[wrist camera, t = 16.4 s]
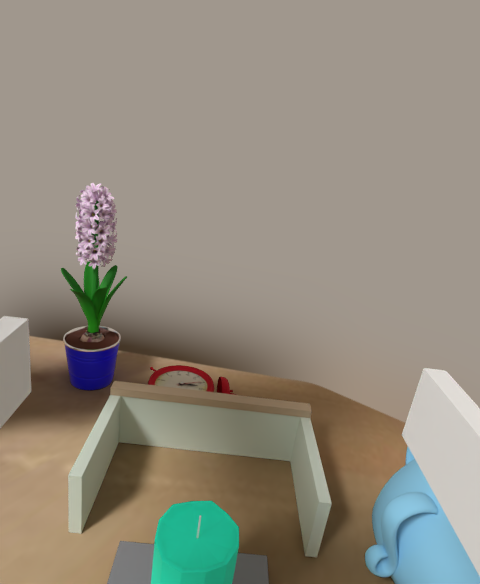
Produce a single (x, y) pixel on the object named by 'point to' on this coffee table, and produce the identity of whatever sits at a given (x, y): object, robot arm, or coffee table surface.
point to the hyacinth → (93, 293)
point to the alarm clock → (187, 379)
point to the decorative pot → (415, 534)
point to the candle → (195, 545)
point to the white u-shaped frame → (205, 442)
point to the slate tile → (139, 559)
